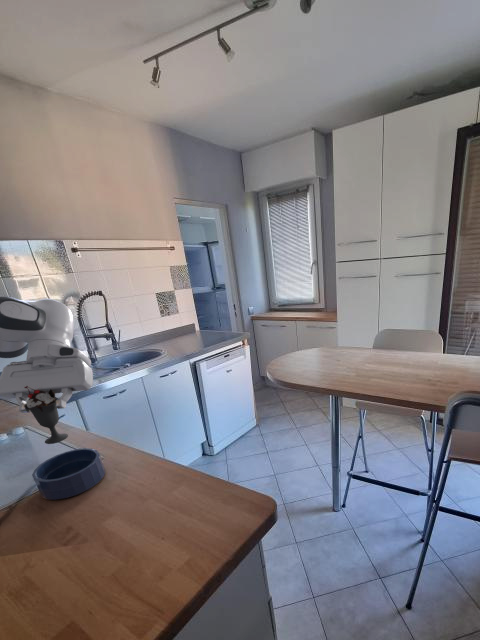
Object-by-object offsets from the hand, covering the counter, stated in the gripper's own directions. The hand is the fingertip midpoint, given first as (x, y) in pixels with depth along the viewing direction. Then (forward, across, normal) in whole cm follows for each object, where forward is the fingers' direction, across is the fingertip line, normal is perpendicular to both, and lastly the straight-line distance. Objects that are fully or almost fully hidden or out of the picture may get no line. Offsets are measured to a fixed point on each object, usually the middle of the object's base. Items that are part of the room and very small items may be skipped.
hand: (42, 409), depth 79 cm
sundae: (+6, 0, +6) cm, 9 cm away
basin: (+15, 0, +15) cm, 21 cm away
